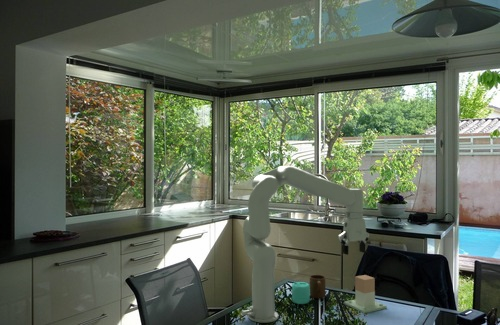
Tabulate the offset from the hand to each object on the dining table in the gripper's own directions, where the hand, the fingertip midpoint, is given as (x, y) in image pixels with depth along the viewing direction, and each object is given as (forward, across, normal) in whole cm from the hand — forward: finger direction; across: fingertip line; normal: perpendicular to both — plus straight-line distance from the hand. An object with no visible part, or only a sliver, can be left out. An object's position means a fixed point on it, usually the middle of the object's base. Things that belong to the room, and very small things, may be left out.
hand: (354, 253), depth 182 cm
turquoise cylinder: (+24, -18, +15) cm, 34 cm away
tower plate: (+24, +4, -3) cm, 24 cm away
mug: (+24, -8, +16) cm, 30 cm away
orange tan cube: (+17, +4, -3) cm, 17 cm away
